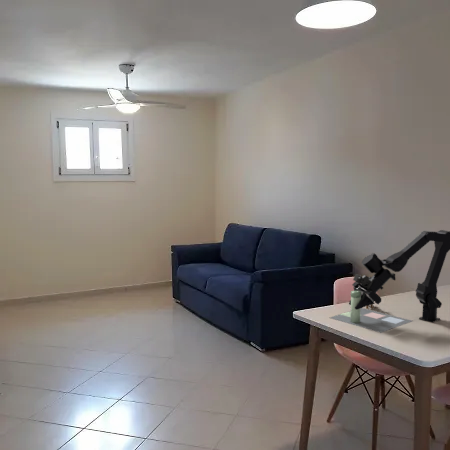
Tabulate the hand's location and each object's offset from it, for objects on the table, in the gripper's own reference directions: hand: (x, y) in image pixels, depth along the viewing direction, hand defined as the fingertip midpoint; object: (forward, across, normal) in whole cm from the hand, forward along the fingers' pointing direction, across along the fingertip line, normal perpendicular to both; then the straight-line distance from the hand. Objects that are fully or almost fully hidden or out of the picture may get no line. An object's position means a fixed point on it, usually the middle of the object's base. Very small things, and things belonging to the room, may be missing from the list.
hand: (352, 306), depth 200 cm
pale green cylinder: (+4, 0, +6) cm, 7 cm away
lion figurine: (-7, -23, +17) cm, 30 cm away
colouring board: (-2, -3, +11) cm, 12 cm away
